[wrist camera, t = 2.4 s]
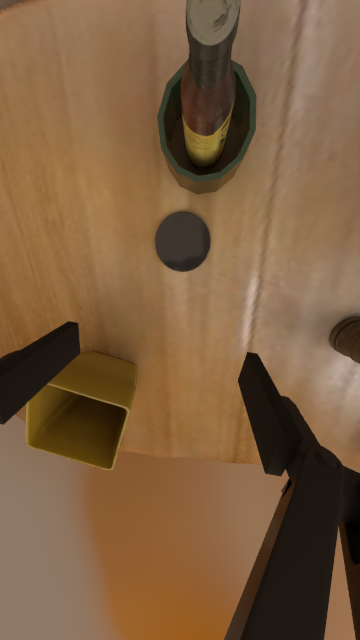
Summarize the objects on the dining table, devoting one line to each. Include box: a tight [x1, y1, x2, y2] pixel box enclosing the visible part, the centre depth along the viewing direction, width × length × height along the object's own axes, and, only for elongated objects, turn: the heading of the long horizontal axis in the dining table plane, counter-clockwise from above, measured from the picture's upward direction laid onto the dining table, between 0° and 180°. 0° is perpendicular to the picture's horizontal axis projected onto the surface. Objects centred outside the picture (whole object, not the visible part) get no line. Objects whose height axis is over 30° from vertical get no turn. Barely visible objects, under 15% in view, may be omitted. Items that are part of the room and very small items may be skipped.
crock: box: [157, 60, 256, 194], centre depth 29 cm, size 13×13×7 cm
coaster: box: [156, 212, 210, 272], centre depth 38 cm, size 11×11×1 cm
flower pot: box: [26, 351, 137, 470], centre depth 44 cm, size 19×19×17 cm
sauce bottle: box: [181, 0, 240, 170], centre depth 23 cm, size 7×6×20 cm
